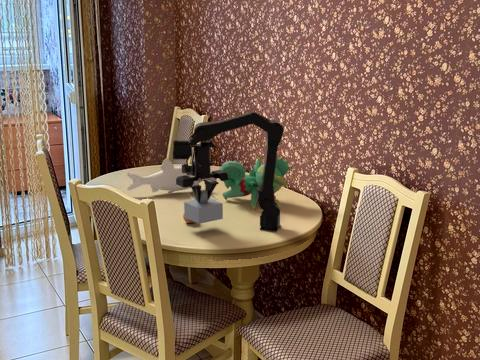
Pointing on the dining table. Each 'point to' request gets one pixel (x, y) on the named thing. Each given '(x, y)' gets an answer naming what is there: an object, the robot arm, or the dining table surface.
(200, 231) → the dining table surface
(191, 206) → the block with rounded knob
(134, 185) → the fish
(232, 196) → the toy
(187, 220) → the ball
